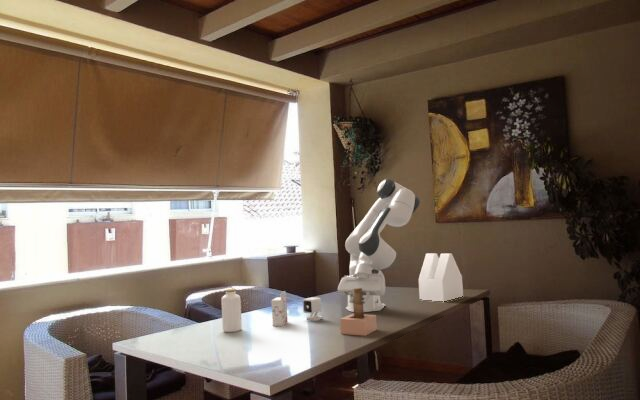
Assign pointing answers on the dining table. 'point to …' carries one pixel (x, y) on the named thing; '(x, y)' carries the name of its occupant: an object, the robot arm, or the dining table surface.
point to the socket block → (358, 325)
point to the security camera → (312, 308)
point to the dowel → (358, 303)
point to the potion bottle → (231, 311)
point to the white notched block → (440, 278)
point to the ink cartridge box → (279, 310)
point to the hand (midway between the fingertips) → (357, 302)
